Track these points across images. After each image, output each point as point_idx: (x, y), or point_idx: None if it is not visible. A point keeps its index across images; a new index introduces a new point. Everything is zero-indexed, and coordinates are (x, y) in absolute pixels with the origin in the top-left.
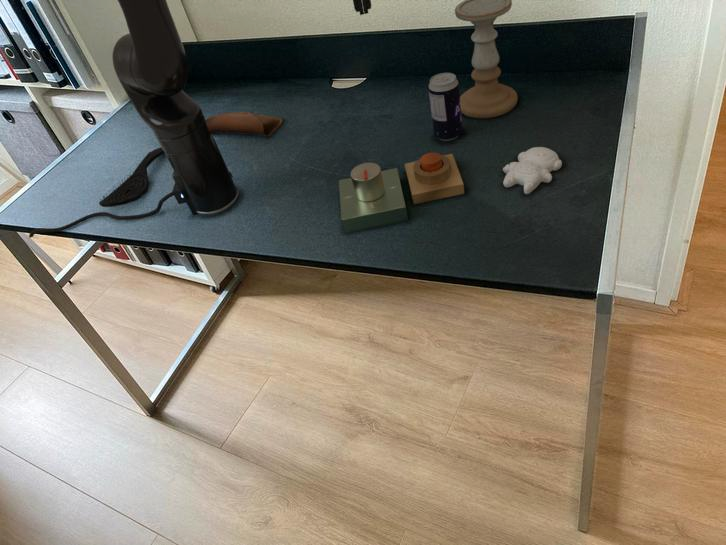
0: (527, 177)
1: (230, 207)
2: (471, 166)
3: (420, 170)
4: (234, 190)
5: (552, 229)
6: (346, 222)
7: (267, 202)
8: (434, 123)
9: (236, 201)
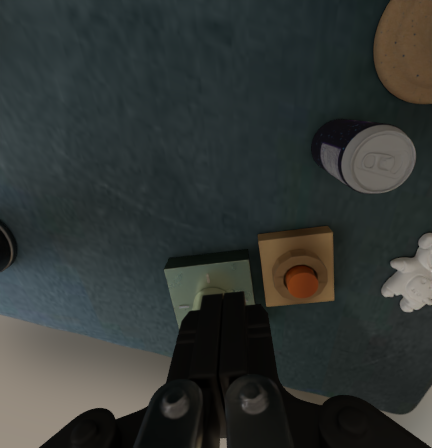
0: (415, 303)
1: (13, 261)
2: (351, 237)
3: (283, 288)
4: (3, 248)
5: (404, 357)
6: None
7: (63, 255)
8: (320, 163)
9: (15, 250)
